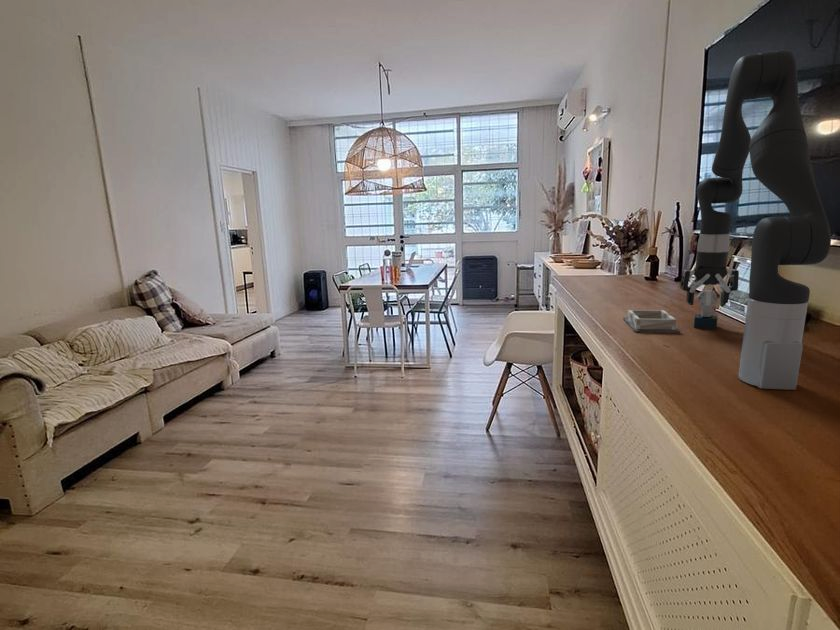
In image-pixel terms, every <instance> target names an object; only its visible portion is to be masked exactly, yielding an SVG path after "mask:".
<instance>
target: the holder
mask: <svg viewBox="0 0 840 630" xmlns="http://www.w3.org/2000/svg"><path fill="white" fill-rule="evenodd" d="M623 319H624V320H623ZM622 320H623V321H624V322H625V323H626V324H627V326H630V327H631V328H632V329H633V330H634V331H633V330H632V329H631V328H630V329H631V330H632V331H633V333H635V332H653V333H652V334H681V330H680V329H678V328H677V318H675V317H673V316H672V315H671V314H670V313H668V312H667V311H665V309H627V312H626V317H623V318H622Z"/></svg>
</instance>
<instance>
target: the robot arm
mask: <svg viewBox="0 0 840 630" xmlns="http://www.w3.org/2000/svg"><path fill="white" fill-rule="evenodd" d="M727 88H728V89H727V93H726V101H725V105H724V112H723V118H722V125H721V132H720V133H721V134H720V137H719V139H720V140H719V143H718V146H717V149H716V152H715V156H714V158H713V162H712V165H711V172H712V174H714V175H715V176H717V177H707V178H704V179H702V180H701V181H700V182H699V184H698V185H697V188H696V196H697V197H696V198H697V201H698V205H699V210H700V220H701V221H700V229H699V231H700V232H699V237H698V241H697V246H696V259H695V268H694V270H688V269H683V270H682V275H681V281H680V287H679V288H680V289H681V290H682V291H684V292H686V299H685V300H686V303H687V304H688V305H689V306H693V305H694V300H695V299H694V298H695V291H696V290H697V289H698V288H700V287H701V286H702V285H703V286H711V285H712V286H716V285H718V286H719V287H720V288H721V290H722V291H721V292H720V301H719V303H720V305H721V306H726V305H727V304H728V303H729V300H730V299H729V297H730V293H731V292H733V291H734V292H735V291H738V290H739V279H740V278H739V277H740V272H739V270H738V269H736V268H735V269H734V268H731V269H727V265H728V257H729V251H730V250H729V249H730V231H731V230H730V229H731V222H732V215H731V214H730V213H729V212H724V211H720V210H719V211H718V210H715V209H714V208H713V204H717V205H718V204H730V203H732V204H733V203H735V202H736V201H738V200H739V199H740V198H741V196H742V195H743V189H744V188H743V174H744V173H743V172H744V167H745V164H746V163H747V159H748V156H750V157H749V159H750V164H751V170H752V173H753V175H754V177H755V178H756V179H757V180H758V181H759V182H760V183H761V184H762V185H763V186H764V187H765V188H767V190H769V191H770V192H771V193H773V194H774V195H775V196H776V197H778V199H780V201H782V203H783V204H784V205H785V207H786V208H787V210H788V212H789V216H788V215H787V216H770V217H764V218H762V219H761V220H759V221H758V223H757V224H756V226H755V228H754V231H753V235H752V238H751V239H752V242H751V252H750V253H751V254H750V255H751V258H750V270H749V283H748V284H749V285H748V287H749V288H748V291H749V292H748V297H747V304H746V305H747V306H746V313H745V321H744V330H743V334H742V335H743V337H742V342H741V343H742V344H741V354H740V361H739V370H738V379H739V380H741V381H742V382H744V383H746V384H749V385H752V386H756V387H757V388H758V389H765V390H768V389H769V390H786V391H787V390H793V391H795V390H797V383H798V378H799V372H800V371H799V370H800V366H801V361H802V360H801V359H802V354H803V348H804V347H803V346H804V344H803V343H802V342H803V337H804V336H803V335H804V329H805V323H806V317H807V314H808V313H807V312H808V304H809V299H810V295H811V294H810V293H811V291H810V290H811V289H810V288H809V287H808V285H805V284H803V283H801V282H796V281H793V280H789V279H787V278H786V277H785V278H784V277H783V276H781V275H780V274H779V266H807V265H808V266H809V265H817V264H820V263H821V262H823V261H824V260H825V259H826V258H827V257H828V256H829V253H830V249H831V245H832V235H831V228H830V224H829V221H828V217H827V214H826V211H825V209H824V206H823V203H822V200H821V197H820V195H819V192H818V188H817V185H816V180H815V177H814V172H813V167H812V162H811V157H810V156H811V155H810V148H809V143H808V137H807V133H806V129H805V125H804V122H803V116H802V112H801V106H800V100H799V99H800V97H799V83H798V70H797V61H796V57H795V55H794V53H793V52H792V51H790V50H787V49H780V50H779V49H778V50H774V51H773V50H772V51H765V52H758V53H752V54H750V53H749V54H746V55H744V56H741V57H740V58H739V59H738V60H737V61H736V63H735V64H734V66H733V68H732V71H731V74H730V78H729V83H728V87H727ZM767 98H770V99H771V100H772V105H773V106H772V108H771V109H770V111H769V112H768V114H767V116H765V118H764V119H763V120H762V122H761V123H760V125H759V126H758V127H757V129H756V130H755V132H754V133H753V135H752V136H751V133H750V132H749V128H748V127H747V125H746V123H745V121H744V118H743V114H742V107H743V102H744V101H749V100H750V101H751V100H757V99H767ZM692 276H694V277H695V278H694V279H693V280H692V281H691V283H690V285H689V282H690V278H692ZM726 276H728V277H729V286H728V283H726V281H725V279H724V278H725V277H726Z"/></svg>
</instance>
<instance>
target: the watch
mask: <svg viewBox="0 0 840 630" xmlns="http://www.w3.org/2000/svg"><path fill="white" fill-rule="evenodd" d="M695 299H696V300H698V302H699V306H700V307H701V314H694V318H693V328H696V329H704V330H705V329H706V330H707V329H709V330H717V327H718V326H717V325H718V316H717V315H712V314H713V306H714V305H715V303H716V302H717V300H718V294H717V293H716V292H715V290H710V289H708V290H707V289H704V290H701V291H700V292H699V293H698V294H697V295H696V296H695Z"/></svg>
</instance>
